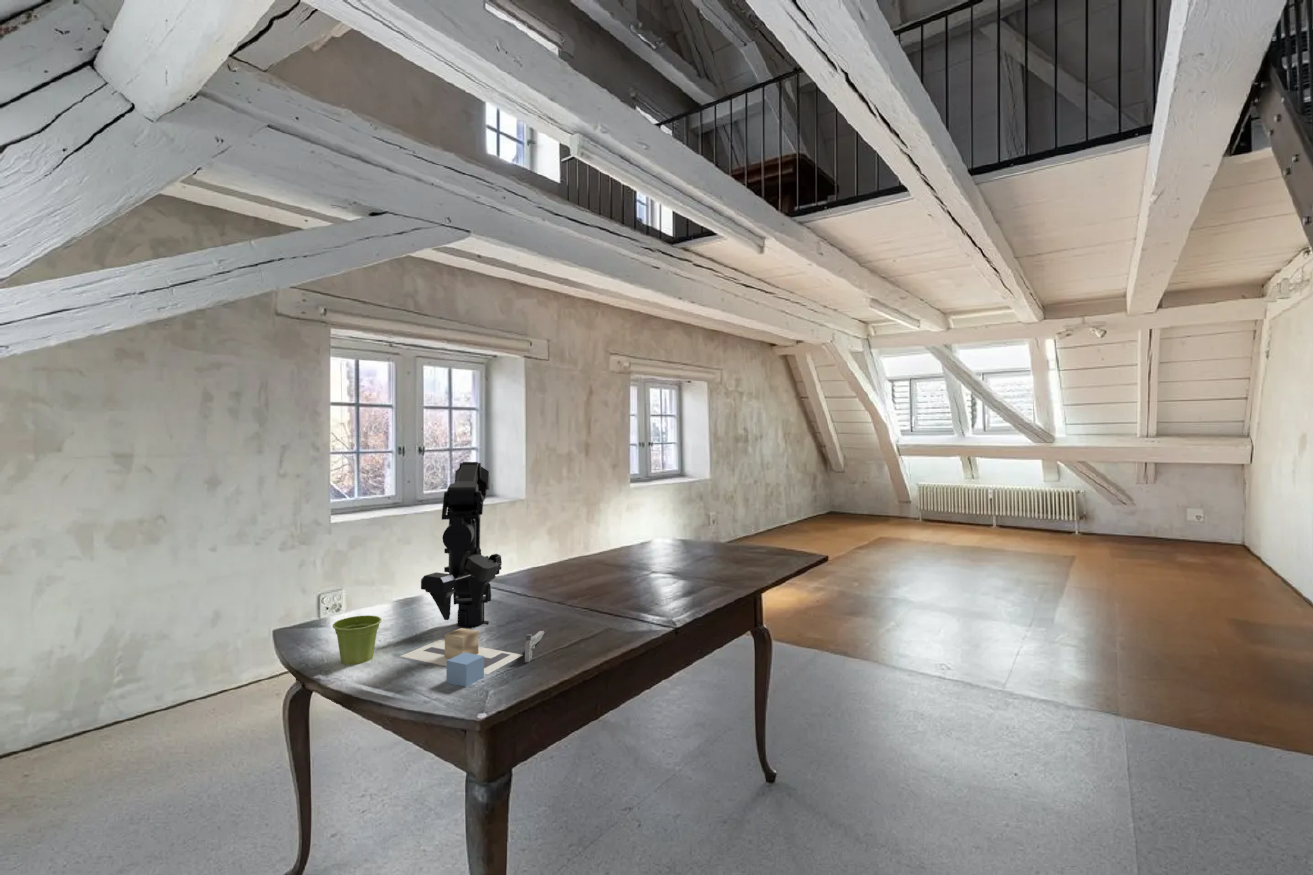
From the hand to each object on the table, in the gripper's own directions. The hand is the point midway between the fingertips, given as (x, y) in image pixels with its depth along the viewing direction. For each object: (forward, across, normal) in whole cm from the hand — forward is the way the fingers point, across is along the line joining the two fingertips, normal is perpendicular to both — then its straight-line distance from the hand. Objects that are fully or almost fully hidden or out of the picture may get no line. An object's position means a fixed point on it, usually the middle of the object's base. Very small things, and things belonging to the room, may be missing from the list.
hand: (461, 614), depth 131 cm
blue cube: (+10, -10, -10) cm, 17 cm away
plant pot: (+10, -11, +19) cm, 24 cm away
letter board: (+10, 0, 0) cm, 10 cm away
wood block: (+9, 0, 0) cm, 9 cm away
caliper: (+10, +12, -11) cm, 19 cm away
